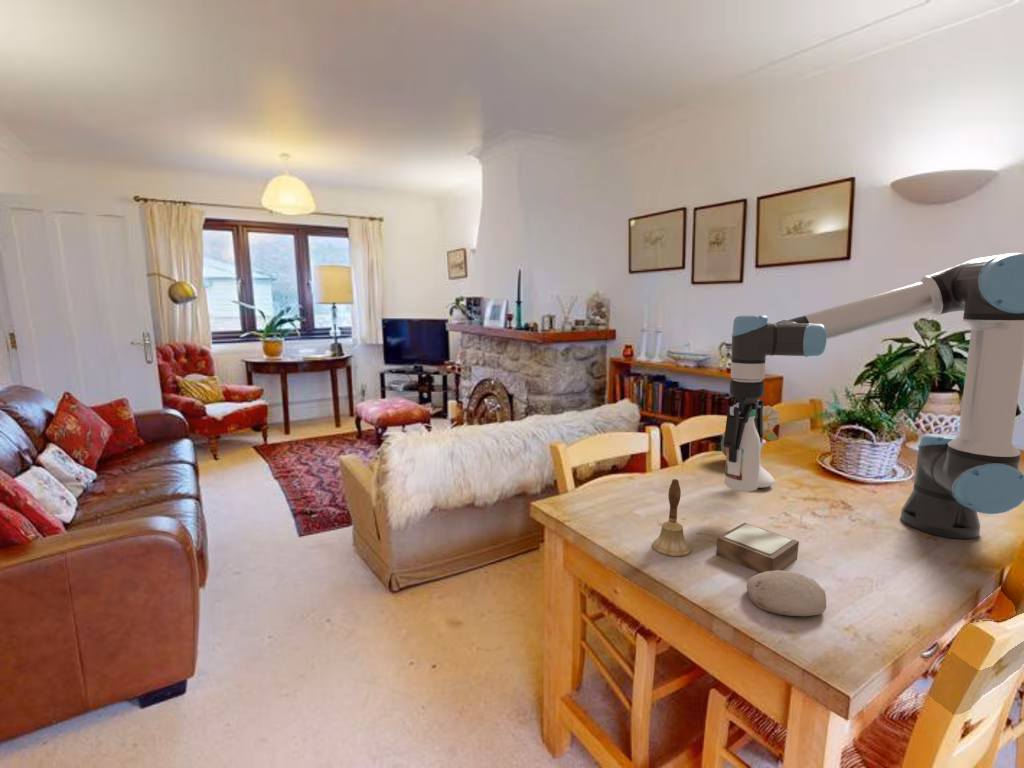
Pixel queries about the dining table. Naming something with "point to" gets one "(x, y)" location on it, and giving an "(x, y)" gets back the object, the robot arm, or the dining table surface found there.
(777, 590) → the stone
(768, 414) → the flower in vase
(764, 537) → the plinth
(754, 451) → the milk bottle
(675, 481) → the hand bell
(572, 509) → the dining table surface
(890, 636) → the dining table surface
